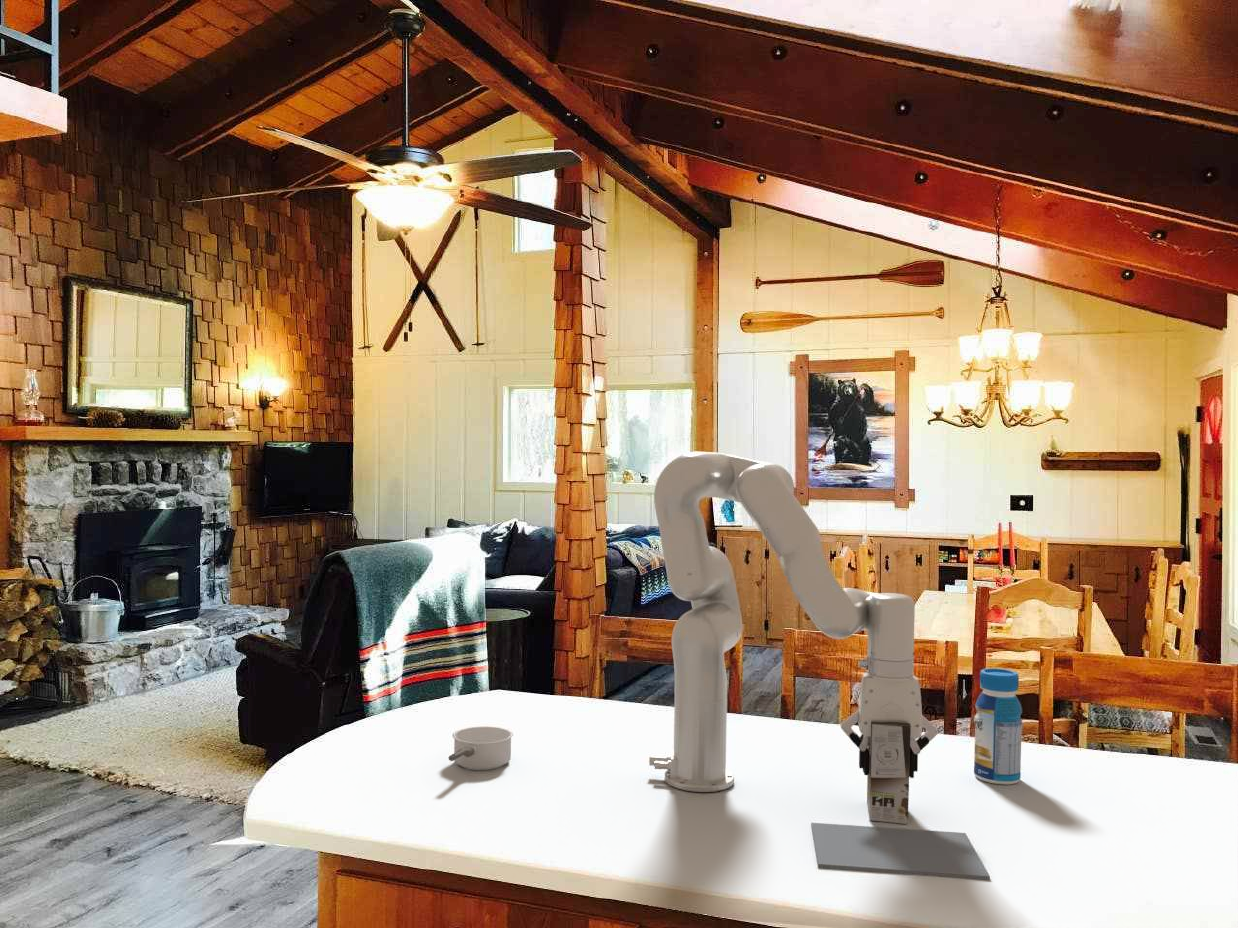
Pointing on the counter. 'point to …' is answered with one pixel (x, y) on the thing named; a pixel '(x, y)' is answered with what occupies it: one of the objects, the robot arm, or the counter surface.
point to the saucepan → (482, 747)
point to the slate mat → (896, 851)
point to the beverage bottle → (998, 728)
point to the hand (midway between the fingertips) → (887, 772)
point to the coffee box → (889, 772)
